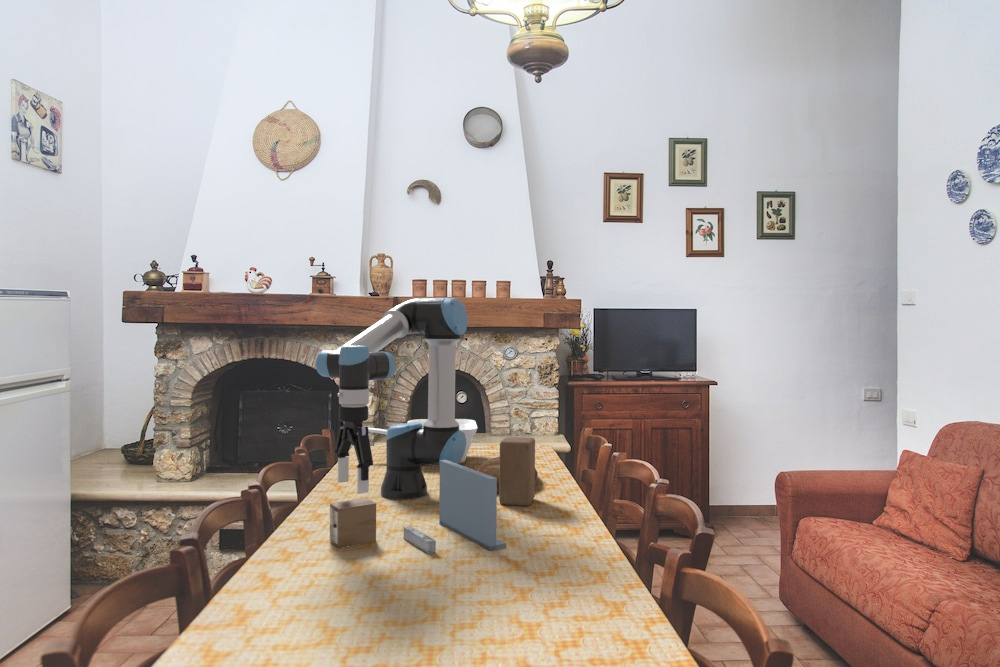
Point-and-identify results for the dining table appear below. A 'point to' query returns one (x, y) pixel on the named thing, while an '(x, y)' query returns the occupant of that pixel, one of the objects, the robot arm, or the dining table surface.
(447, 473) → the wall board
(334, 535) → the wooden box
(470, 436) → the pot
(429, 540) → the cleat rail
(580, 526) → the dining table surface
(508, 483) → the wooden block
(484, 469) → the bread
